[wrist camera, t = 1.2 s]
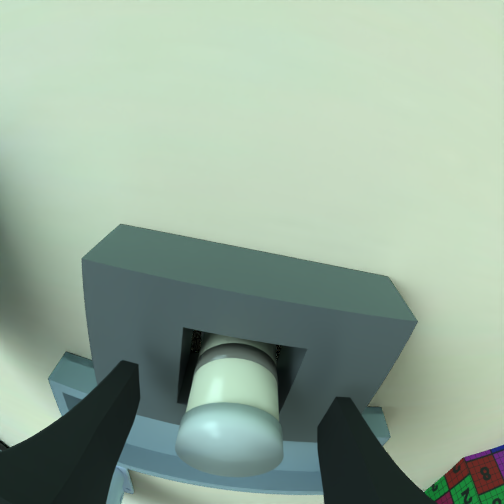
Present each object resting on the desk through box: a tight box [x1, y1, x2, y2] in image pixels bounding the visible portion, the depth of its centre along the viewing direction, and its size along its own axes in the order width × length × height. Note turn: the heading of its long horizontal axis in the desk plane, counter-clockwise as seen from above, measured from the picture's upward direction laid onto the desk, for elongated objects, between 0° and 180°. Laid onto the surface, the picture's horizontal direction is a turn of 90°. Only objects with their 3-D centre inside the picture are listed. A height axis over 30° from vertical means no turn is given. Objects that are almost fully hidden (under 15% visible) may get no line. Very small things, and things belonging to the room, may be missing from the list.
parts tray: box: [48, 352, 391, 495], centre depth 17 cm, size 9×20×2 cm, turn 78°
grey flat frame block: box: [82, 224, 418, 443], centre depth 13 cm, size 8×12×4 cm, turn 78°
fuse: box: [175, 331, 284, 477], centre depth 12 cm, size 3×3×7 cm
